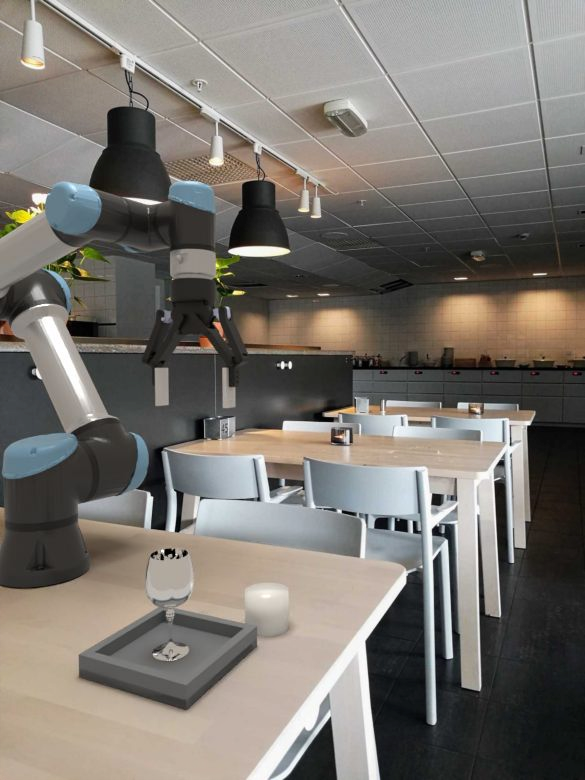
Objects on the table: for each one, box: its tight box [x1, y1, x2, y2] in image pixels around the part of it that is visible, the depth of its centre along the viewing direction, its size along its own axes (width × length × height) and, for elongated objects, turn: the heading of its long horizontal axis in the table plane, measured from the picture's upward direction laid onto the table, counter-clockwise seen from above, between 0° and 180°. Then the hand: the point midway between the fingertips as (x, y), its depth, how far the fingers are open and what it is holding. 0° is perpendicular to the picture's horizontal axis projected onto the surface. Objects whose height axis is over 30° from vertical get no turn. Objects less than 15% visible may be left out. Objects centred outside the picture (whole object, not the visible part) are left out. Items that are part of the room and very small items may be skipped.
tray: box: [78, 606, 258, 710], centre depth 70 cm, size 15×15×3 cm
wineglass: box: [144, 547, 195, 661], centre depth 70 cm, size 6×6×12 cm
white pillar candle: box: [244, 582, 290, 638], centre depth 79 cm, size 6×6×5 cm
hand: (194, 406), depth 97 cm, fingers open, 13 cm apart
